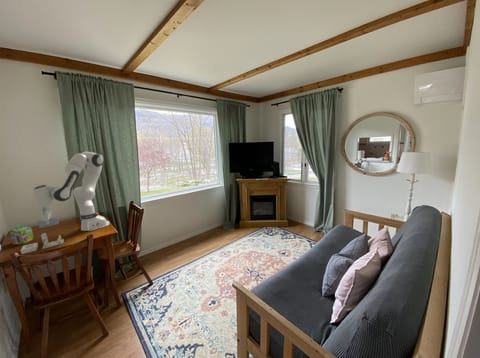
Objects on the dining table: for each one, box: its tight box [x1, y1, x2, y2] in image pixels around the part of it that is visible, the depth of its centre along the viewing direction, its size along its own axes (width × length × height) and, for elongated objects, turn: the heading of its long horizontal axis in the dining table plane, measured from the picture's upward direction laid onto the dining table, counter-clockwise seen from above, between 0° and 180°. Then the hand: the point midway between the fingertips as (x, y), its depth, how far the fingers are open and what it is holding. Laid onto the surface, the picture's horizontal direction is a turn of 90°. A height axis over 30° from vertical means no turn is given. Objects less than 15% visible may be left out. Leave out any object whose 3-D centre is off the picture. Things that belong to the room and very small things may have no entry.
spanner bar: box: [37, 217, 59, 229], centre depth 160 cm, size 11×4×4 cm, turn 127°
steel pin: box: [40, 232, 48, 245], centre depth 165 cm, size 3×3×8 cm
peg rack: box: [42, 234, 65, 250], centre depth 163 cm, size 12×8×5 cm, turn 127°
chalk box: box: [9, 223, 35, 245], centre depth 168 cm, size 9×9×15 cm
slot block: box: [20, 242, 39, 255], centre depth 156 cm, size 8×8×3 cm
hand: (48, 223), depth 160 cm, fingers closed on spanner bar, 3 cm apart
